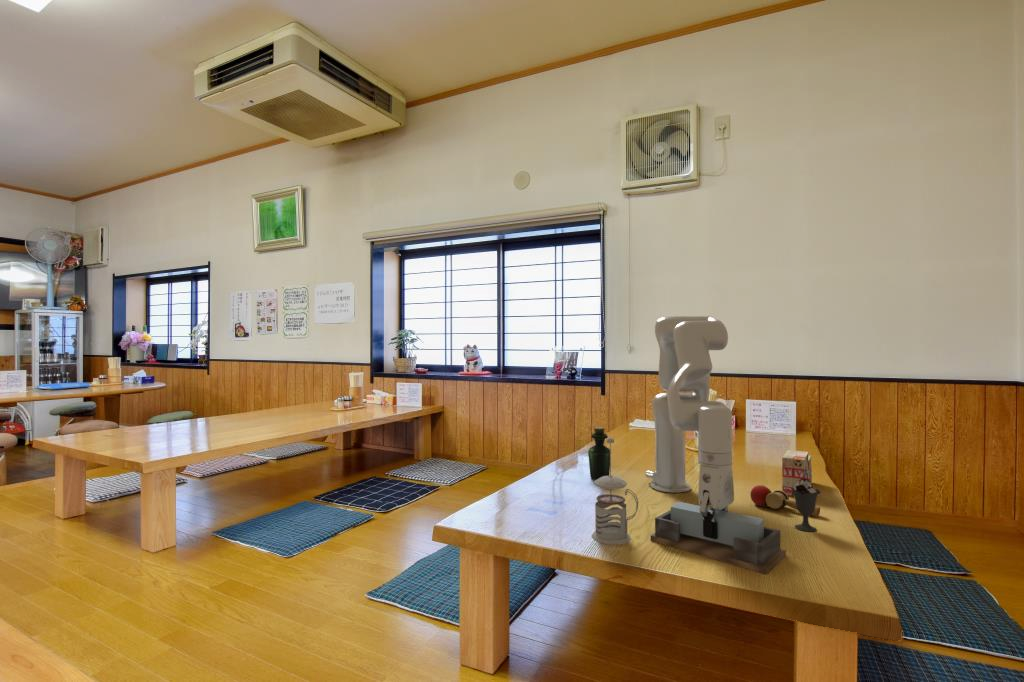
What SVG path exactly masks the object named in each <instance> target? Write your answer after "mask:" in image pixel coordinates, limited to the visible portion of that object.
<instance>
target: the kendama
mask: <svg viewBox="0 0 1024 682" xmlns="http://www.w3.org/2000/svg"><path fill="white" fill-rule="evenodd" d="M749 494H750V499H751V501H752V502H753V503H754V504H755V505H757V506H759V507H763V506H765V507H769V508H772V509H774V510H776V509H779V508H785V507H789V508H791V509H794V510H796V511H798V510H797V507H796V501H795V500H792V499H790V498H789V497H790V496H788V495H787V494H786V493H785V492H784V491H782V489H778V490H774V491H771V489H770V488H768V487H767V486H765V485H761V484H759V485H756V486H754V487H752V488H751V491H750V493H749ZM820 513H821V506H818V505H816V506H815V510H814V512H813V513H812V514H811V515H810V516H812V517H815V518H819V517H818V516H820Z"/></svg>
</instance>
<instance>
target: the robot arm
mask: <svg viewBox="0 0 1024 682" xmlns="http://www.w3.org/2000/svg"><path fill="white" fill-rule="evenodd" d="M654 333H655V338H656V341H657V344H658V347H659V358H658V359H659V363H658V386H659V387H660V388H661V389H662V390H663V391H665V392H662V393H660V392H659V393H658V394H656V395H655V396H654V397H653V398H652V402H651V407H652V408H651V409H652V414H653V421H654V422H653V423H654V433H655V434H654V435H655V437H654V439H655V440H654V446H655V447H654V451H655V452H654V453H655V458H654V460H655V465H654V466H655V469H654V470H655V471H651V470H646V471H645V478H647V479H652V481H651V482H650V486H651V488H652V489H653V488H654V490H655V491H659V492H665V493H670V494H671V493H674V494H675V493H677V494H679V493H685V492H689V491H690V490H691V484H690V483H688V482H686V435H685V433H684V431H685V432H698V433H697V435H698V436H697V438H698V439H697V440H698V441H697V442H698V443H697V444H698V447H697V449H698V450H697V452H698V453H697V456H698V457H697V458H698V459H697V461H698V462H697V463H698V464H699V465H700V466H699V473H698V475H699V476H698V504H699V505H698V506H700V509H699V511H700V512H701V514H702V519H703V536H705V537H708V538H712V539H717V538H718V530H717V522H716V514H717V511H720V510H723V511H728V512H729V510H728V509H729V508H728V507H729V506H730V505H732V504H733V503H734V501H735V489H734V487H735V486H734V475H733V474H734V471H733V467H732V466H733V412H732V410H731V408H729V407H727V405H725V403H724V402H721V401H715V400H711V401H710V400H709V399H710V389H711V388H710V386H711V372H712V371H713V363H712V360H711V359H712V358H711V356H710V351H722V350H725V348H726V347H727V345H728V342H729V336H728V335H729V334H728V330H727V327H726V326H725V324H724V323H723V322H722V321H721V320H719V319H717V318H715V317H713V316H709V315H706V316H702V315H701V316H700V315H699V316H697V315H696V316H689V315H688V316H687V315H686V316H679V315H676V316H663V317H660V318H658V319H657V320H656V321H655V325H654ZM666 391H667V392H666ZM710 505H711V506H710ZM708 510H712V514H711V513H710V512H709V511H708Z"/></svg>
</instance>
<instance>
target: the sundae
mask: <svg viewBox="0 0 1024 682" xmlns="http://www.w3.org/2000/svg"><path fill="white" fill-rule="evenodd" d="M806 471H807V470H805V475H806V473H807V472H806ZM805 475H804V476H803V477H801V479H800V480H799V481H798V482H797V485H796V486H794V487H793V488H791V489H792V490H793V491H794V495H795V497H794V499H795V500H794V501H796V507H797V510H796V511H798V512H799V513H800V514H801V515H802V523H799V524H795V525H794V527H795V529H797V530H798V531H801V532H807V533H814V532H816V531H817V530H818V529H817V527H815V526H814V525H813V526H811V525H810V523H809V516H812V515H811V514H812V513H813V512H814V510H815V506H817V505H816V503H817V499H818V495H820V494H821V490H820V489H819V488H817V487H816V488H815V486H814V485H813V484H812V483H811V482H810V480H809V479H808V475H807V478H806V477H805Z"/></svg>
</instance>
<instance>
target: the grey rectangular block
mask: <svg viewBox="0 0 1024 682" xmlns="http://www.w3.org/2000/svg"><path fill="white" fill-rule="evenodd" d="M699 509H700V505H698V504H697V505H696V504H692V503H689V502H688V503H687V502H681V501H677V502H675V503H674V504H673V505H671V506H670V510H671V521H675V522H678V523H680V533H681V534H685V535H689V536H694V537H698V538H702V539H706V540H710V541H715V542H719V543H723V544H727V545H731V546H733V538H735V537H736V538H740V539H744V540H748V541H752V542H756V543H760V542H761V541H762V540H763V539H764V527H765V518H761V517H758V516H752V515H747V514H742V513H737V512H732V511H729V510H728V511H723V510H720V511H717V514H716V522H717V530H718V538H717V539H712V538H708V537H705V536H703V519H702V514H701V512H700V511H699ZM708 511H709V512H710V513H711V514H712V510H708Z"/></svg>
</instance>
